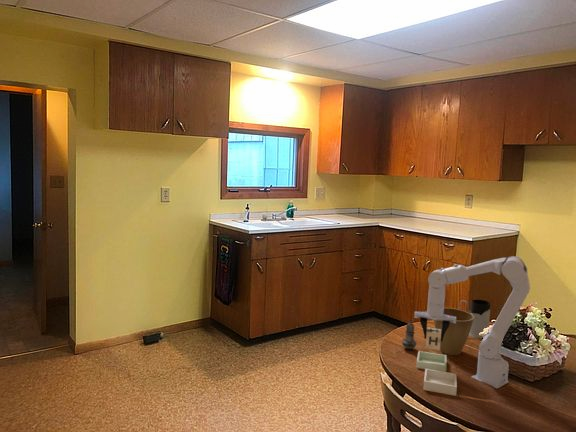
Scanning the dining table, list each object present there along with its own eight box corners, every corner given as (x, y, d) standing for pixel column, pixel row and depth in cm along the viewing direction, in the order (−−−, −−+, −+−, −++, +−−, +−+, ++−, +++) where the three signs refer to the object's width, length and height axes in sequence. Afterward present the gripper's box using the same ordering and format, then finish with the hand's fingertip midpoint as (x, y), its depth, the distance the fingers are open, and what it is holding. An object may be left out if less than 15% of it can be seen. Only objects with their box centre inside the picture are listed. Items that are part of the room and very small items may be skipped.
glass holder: (483, 340, 199) (486, 306, 197) (452, 330, 209) (455, 298, 207) (492, 335, 205) (495, 302, 203) (462, 326, 215) (464, 295, 213)
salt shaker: (416, 353, 182) (418, 324, 181) (401, 352, 183) (403, 322, 182) (415, 348, 188) (417, 319, 186) (400, 346, 189) (402, 318, 188)
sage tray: (445, 362, 175) (446, 355, 174) (445, 374, 165) (446, 366, 165) (417, 358, 178) (418, 350, 178) (416, 369, 168) (416, 361, 168)
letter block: (426, 342, 174) (427, 327, 173) (440, 345, 172) (441, 329, 171) (425, 348, 169) (426, 331, 168) (439, 350, 167) (441, 333, 166)
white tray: (455, 382, 159) (456, 373, 159) (456, 395, 150) (456, 386, 149) (424, 376, 163) (425, 368, 162) (423, 389, 153) (423, 381, 153)
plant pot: (423, 351, 185) (426, 312, 183) (443, 342, 195) (446, 305, 193) (458, 364, 174) (461, 323, 172) (477, 354, 184) (480, 315, 182)
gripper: (414, 303, 167) (412, 339, 169) (457, 308, 162) (454, 346, 164) (415, 298, 174) (413, 333, 175) (457, 303, 169) (454, 339, 171)
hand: (433, 339), depth 170 cm, fingers closed on letter block, 5 cm apart
